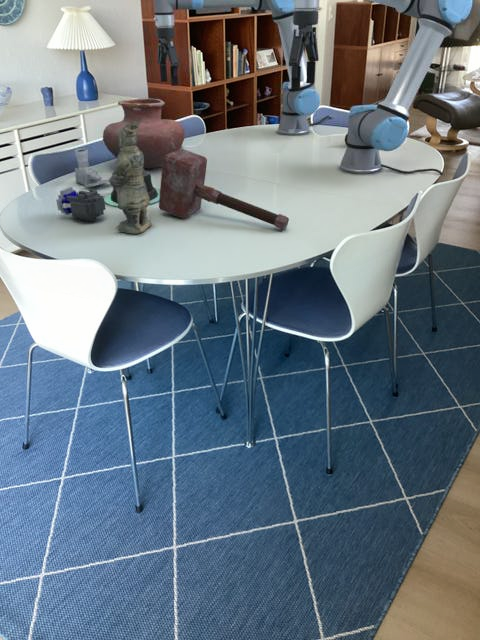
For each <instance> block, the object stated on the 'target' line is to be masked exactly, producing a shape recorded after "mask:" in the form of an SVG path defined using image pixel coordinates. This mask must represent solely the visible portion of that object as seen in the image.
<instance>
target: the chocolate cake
mask: <svg viewBox="0 0 480 640" xmlns="http://www.w3.org/2000/svg"><path fill="white" fill-rule="evenodd" d="M113 175H114V171H112V173H111V176H113ZM143 178H144V182H145V184H146V188H147V192H148V195H149V197H150V204H154V203H157V202H159V198H160V188H156V187H154V185H153V182H152V174H151V172H149V171H148V170H146V169H145V168H143ZM103 198H104V202H105V204H108V205H109V206H115V207H118V202H117V192H116V189H115V188H114V187H112V191H111V193H108V194H107V195H106V196H104V197H103ZM150 204H149V205H150Z"/></svg>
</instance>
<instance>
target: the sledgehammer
mask: <svg viewBox="0 0 480 640" xmlns="http://www.w3.org/2000/svg"><path fill="white" fill-rule="evenodd" d="M207 164H208V159H207V158H206V157H205V156H203V155H200V154H197V153H195V152H193V151H189V150H186V149H184V148H180V149H179V150H177V151H174V152H172V153H170V154H167V155H165V156H164V158H163V165H161V166H162V167H161V176H160V187H159V190H160V198H159V200H158V208H159V210H160V211H162V212H165V213H168V214H170V215H173V216H174V217H177V218H180V219H182V220H185V219H187V218H188V217H190V216H192V215H193V214H195V213H197V212H198V211H199V210H200V209H201V207H202V201H203V200H204V201H207V202H209V203H213V204H215V205H220V206H223V207H225V208H228V209H231V210H233V211H236V212H239V213H241V214H243V215H245V216H248V217H252V218H255V219H257V220H260V221H262V222H264V223H267V224H270V225H273V226H274V228H276V229H280V230H282V231H285V230H286V228H287V227H288V224H289V221H290V218H289V217H288V216H286V215H283V214H281V213H279V214H277V213H275V212H273V211H269V210H267V209H265V208H262V207H259V206H256V205H254V204H251V203H248V202H246V201H244V200H242V199H238V198H236V197H233V196H231V195H228V194H225V193H223V192H222V191H220V190H218V189H215V188H214V187H211V186H208V185H205V181H206V175H207Z"/></svg>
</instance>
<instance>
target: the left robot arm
mask: <svg viewBox="0 0 480 640" xmlns="http://www.w3.org/2000/svg"><path fill="white" fill-rule="evenodd" d="M152 1H153V11H154V18H153V21H155V22H154V23H155V27H156V28H155V35H156V38H157V39H158V40H157V44H158V45H157V64H158V66H159V74H160V75H159V76H160V82H161V83H167V82H168V70H167V59H168V62H169V69H170V70H169V71H170V83H171V87H175V86H179V75H178V68H179V67H180V62H179V58H178V53H177V49H176V42H175V41H174V40H172V39H174V38H175V37H176V29H175V27H174V26H175V14H174V11H178V10H179V11H180V10H182V11H183V10H185V11H186V10H187V11H188V10H194V11H195V10H200V9H227V8H254V9H255V10H262V11H269V12H271V17H272V21H273V22H274V23H276V24H277V27H278V31H279V36H280V41H281V45H282V50H283V55H284V59H285V65H286V69H287V74H288V79H289V81H284V82H283V83H282V87H281V91H282V93H281V118H280V121H279V124H278V127H277V133H278V134H279V135H285V136H302V135H303V136H304V135H308V134H309V133H310V127H312V126H316V125H319V124H322V123H323V121H324V120H326V119H330V120H331V119H332V116H331V117H329V116H330V115H326V116H324V117H323V118H321V119H320V120H319V121H316V122H313V123H309V121H308V118H307V117H309V116H311V115H313V114H314V113H316V112H317V110H318V109H319V107H320V104H321V97H320V94H319V92H318V91H317V90H316V87H315V83H314V84H312V83H306V73H307V57H306V54H305V53H306V52H305V50H304V51H303V55H302V59H301V62H300V66H301V81H300V89H291V77H292V66H289V59H290V53H291V47H292V42H293V33H294V29H298V25H294V24H293V12H294V11H296V9H294V1H293V0H152Z"/></svg>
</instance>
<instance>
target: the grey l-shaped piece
mask: <svg viewBox="0 0 480 640" xmlns="http://www.w3.org/2000/svg"><path fill="white" fill-rule="evenodd" d="M88 151H89V150H88V149H87V148H77V149H75V150H74V153H75V158H76V160H77V167H75V168H74V174H75V175H74V176H75V181H76V183H78V184H80V185H83V188H90V187H96V186H100V185H103V184H107V183H109V179H110V178H109V179H103V178H102V177H103V176H102V175H100V174H99V171H98V170H97V169H93V168H90V164H89V152H88Z"/></svg>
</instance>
